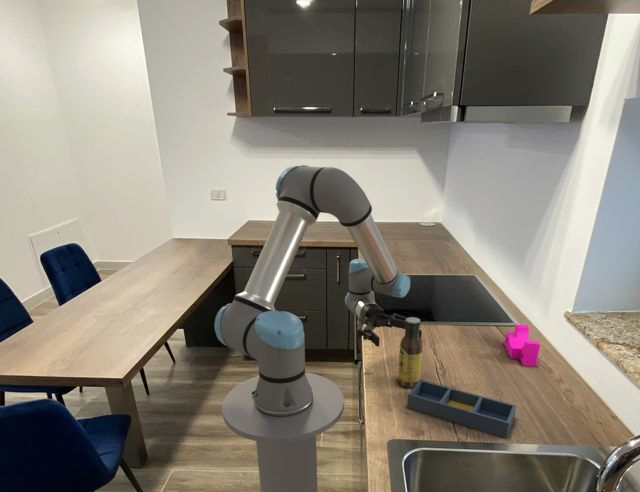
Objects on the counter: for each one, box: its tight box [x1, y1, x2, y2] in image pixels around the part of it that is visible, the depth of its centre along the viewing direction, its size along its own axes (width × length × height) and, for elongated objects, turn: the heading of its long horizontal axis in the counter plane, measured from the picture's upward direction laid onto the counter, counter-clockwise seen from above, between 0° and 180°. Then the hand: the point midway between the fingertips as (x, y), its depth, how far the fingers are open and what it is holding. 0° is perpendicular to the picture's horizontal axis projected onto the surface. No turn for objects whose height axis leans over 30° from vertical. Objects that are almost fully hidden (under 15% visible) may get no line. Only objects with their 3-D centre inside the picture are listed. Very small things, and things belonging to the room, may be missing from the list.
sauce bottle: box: [397, 316, 424, 389], centre depth 123 cm, size 6×6×20 cm
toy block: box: [503, 324, 541, 367], centre depth 142 cm, size 15×6×8 cm, turn 173°
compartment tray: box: [406, 379, 517, 439], centre depth 112 cm, size 25×9×4 cm, turn 60°
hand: (399, 338), depth 129 cm, fingers open, 13 cm apart
